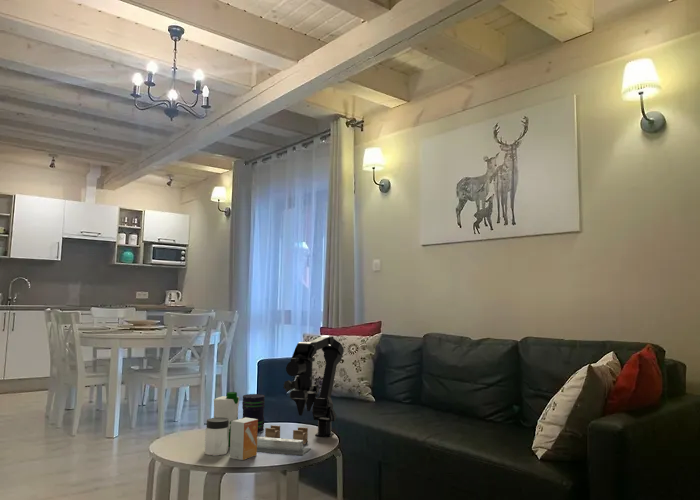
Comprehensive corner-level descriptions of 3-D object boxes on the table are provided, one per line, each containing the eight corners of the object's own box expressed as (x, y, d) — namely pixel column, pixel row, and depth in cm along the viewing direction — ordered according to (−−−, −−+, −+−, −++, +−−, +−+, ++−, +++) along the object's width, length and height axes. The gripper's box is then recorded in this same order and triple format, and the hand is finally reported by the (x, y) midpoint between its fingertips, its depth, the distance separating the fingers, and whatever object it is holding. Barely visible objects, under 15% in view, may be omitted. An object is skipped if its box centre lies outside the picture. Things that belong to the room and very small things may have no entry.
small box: (242, 460, 187) (244, 422, 188) (229, 458, 190) (230, 420, 191) (257, 455, 194) (258, 418, 195) (243, 452, 197) (244, 417, 198)
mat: (253, 444, 209) (253, 443, 209) (310, 449, 202) (310, 448, 202) (242, 450, 200) (242, 449, 200) (302, 455, 194) (302, 454, 194)
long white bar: (254, 445, 206) (255, 436, 206) (303, 449, 200) (303, 440, 201) (250, 447, 202) (251, 438, 203) (299, 452, 197) (299, 442, 197)
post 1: (271, 438, 218) (271, 425, 218) (280, 439, 217) (280, 425, 217) (265, 442, 212) (265, 428, 213) (274, 443, 211) (274, 429, 212)
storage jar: (248, 427, 239) (249, 393, 241) (268, 428, 236) (268, 394, 238) (237, 431, 230) (238, 396, 232) (256, 433, 227) (257, 398, 228)
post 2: (298, 441, 215) (298, 427, 215) (307, 441, 214) (307, 427, 214) (292, 444, 209) (293, 430, 210) (302, 445, 208) (302, 431, 209)
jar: (208, 457, 191) (209, 422, 192) (201, 451, 198) (202, 418, 199) (232, 453, 196) (233, 420, 197) (224, 448, 203) (225, 416, 204)
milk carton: (231, 447, 204) (232, 394, 206) (209, 446, 206) (211, 393, 208) (240, 442, 212) (241, 391, 215) (219, 440, 214) (221, 390, 217)
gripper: (295, 370, 224) (294, 408, 222) (277, 375, 206) (276, 416, 204) (319, 371, 221) (319, 409, 219) (304, 376, 203) (303, 418, 201)
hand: (304, 413), depth 211 cm, fingers open, 9 cm apart
